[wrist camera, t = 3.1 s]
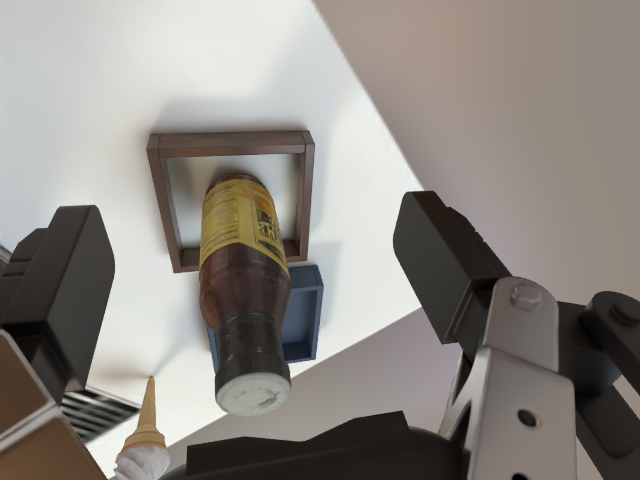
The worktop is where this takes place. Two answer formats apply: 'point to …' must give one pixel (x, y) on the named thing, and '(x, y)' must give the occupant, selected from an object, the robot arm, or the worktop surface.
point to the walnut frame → (228, 146)
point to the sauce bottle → (245, 294)
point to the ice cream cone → (144, 445)
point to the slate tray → (295, 317)
